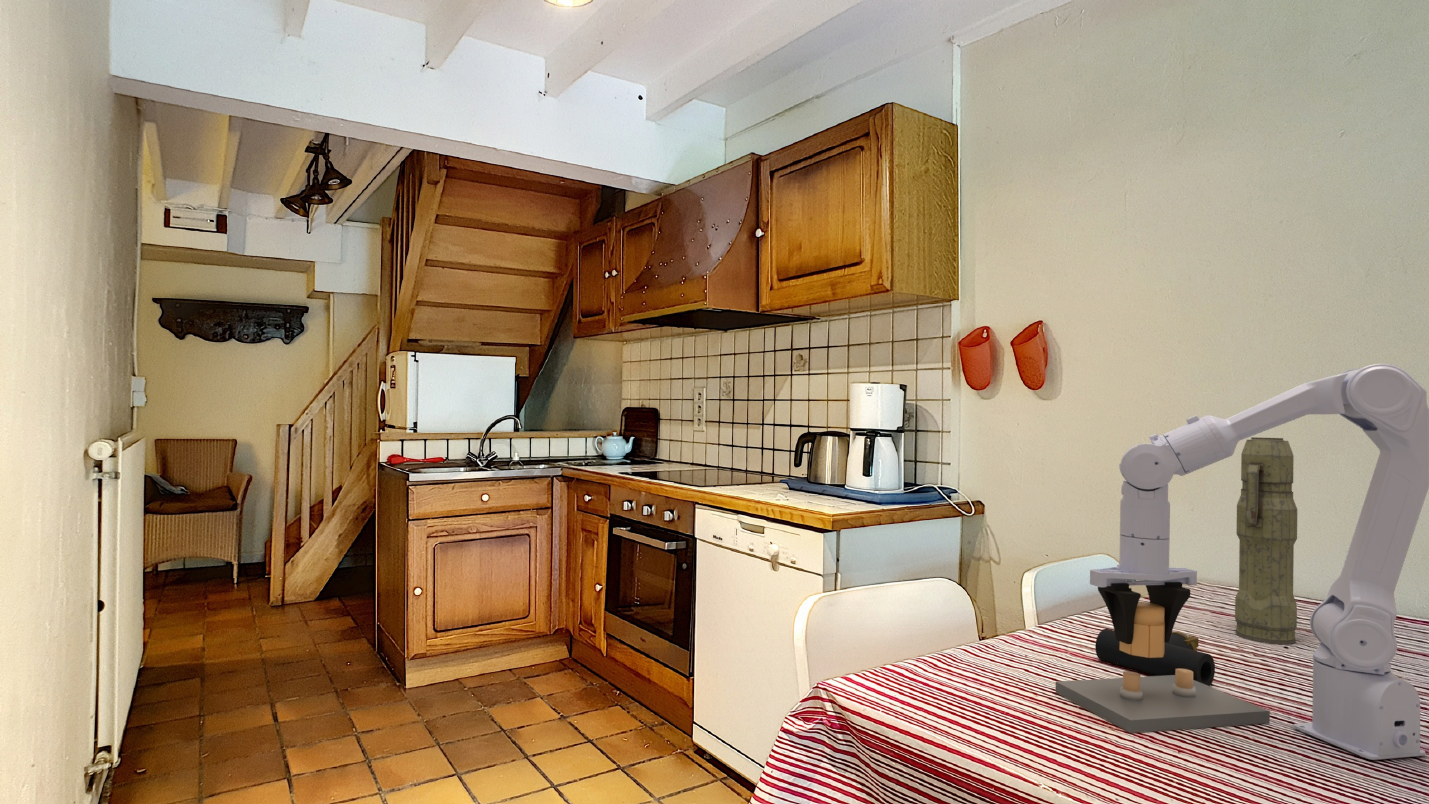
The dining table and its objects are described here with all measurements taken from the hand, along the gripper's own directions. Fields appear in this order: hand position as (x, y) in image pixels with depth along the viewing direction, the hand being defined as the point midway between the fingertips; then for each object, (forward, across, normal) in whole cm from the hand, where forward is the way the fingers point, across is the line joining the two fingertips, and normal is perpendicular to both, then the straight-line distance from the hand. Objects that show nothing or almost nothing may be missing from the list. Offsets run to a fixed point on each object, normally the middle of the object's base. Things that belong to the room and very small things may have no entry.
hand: (1142, 641), depth 103 cm
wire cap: (+1, 0, 0) cm, 1 cm away
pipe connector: (+9, -16, -14) cm, 23 cm away
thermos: (+9, -48, -27) cm, 56 cm away
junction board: (+8, -2, 0) cm, 9 cm away
